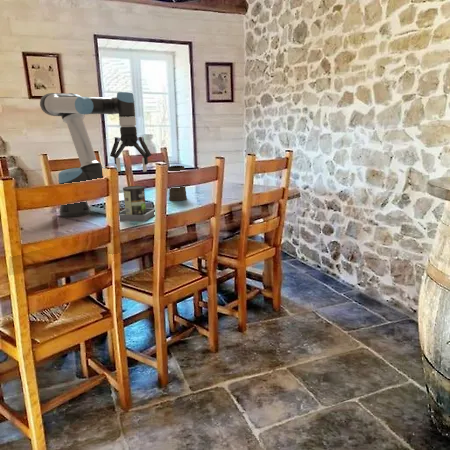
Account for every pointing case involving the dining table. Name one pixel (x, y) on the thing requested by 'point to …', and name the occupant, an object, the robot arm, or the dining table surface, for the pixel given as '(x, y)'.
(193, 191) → the dining table surface
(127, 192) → the coffee can
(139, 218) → the holder tray
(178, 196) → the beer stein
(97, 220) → the dining table surface
